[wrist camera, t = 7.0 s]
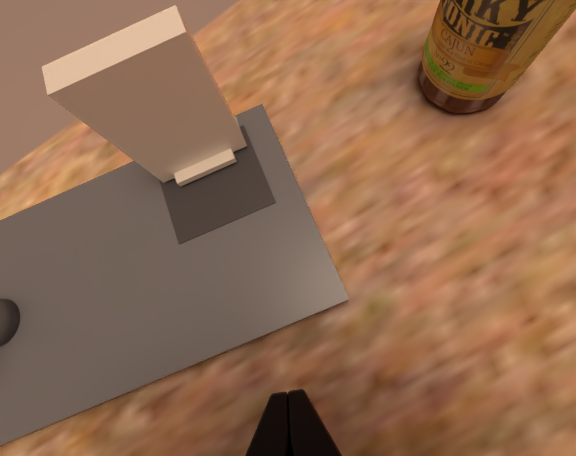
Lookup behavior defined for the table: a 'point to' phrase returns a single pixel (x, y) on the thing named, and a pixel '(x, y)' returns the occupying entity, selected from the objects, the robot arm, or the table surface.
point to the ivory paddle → (150, 98)
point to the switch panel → (152, 279)
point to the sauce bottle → (485, 48)
